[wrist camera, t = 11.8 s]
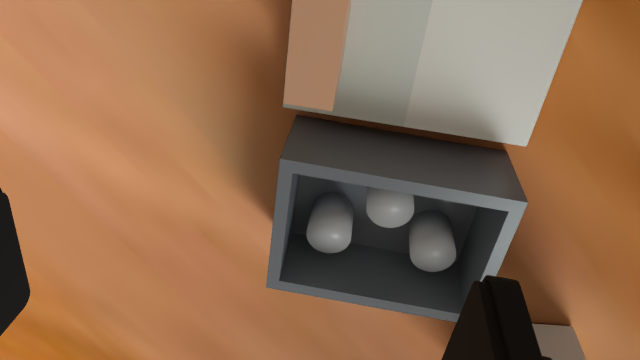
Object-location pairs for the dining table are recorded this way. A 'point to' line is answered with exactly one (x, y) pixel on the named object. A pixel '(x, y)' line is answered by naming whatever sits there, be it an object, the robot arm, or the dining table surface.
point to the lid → (428, 62)
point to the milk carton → (558, 342)
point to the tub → (389, 217)
